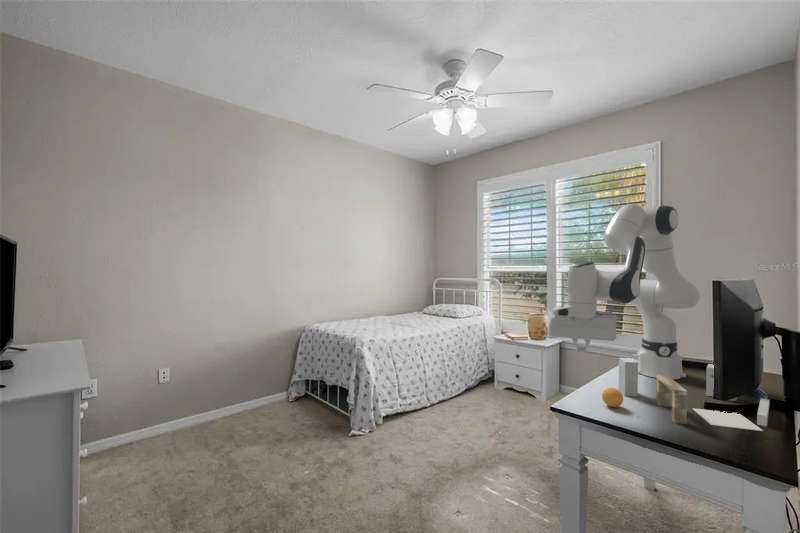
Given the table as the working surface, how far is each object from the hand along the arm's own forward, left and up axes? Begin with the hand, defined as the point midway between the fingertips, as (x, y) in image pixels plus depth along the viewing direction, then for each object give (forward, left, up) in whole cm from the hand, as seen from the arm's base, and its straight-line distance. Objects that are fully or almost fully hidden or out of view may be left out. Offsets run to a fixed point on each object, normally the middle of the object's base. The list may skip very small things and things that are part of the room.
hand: (580, 351), depth 122 cm
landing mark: (0, +39, -17) cm, 43 cm away
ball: (0, +9, -14) cm, 17 cm away
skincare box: (-15, +17, -17) cm, 29 cm away
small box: (-21, +47, -17) cm, 55 cm away
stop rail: (-6, +51, -17) cm, 55 cm away
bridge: (0, +25, -17) cm, 31 cm away
